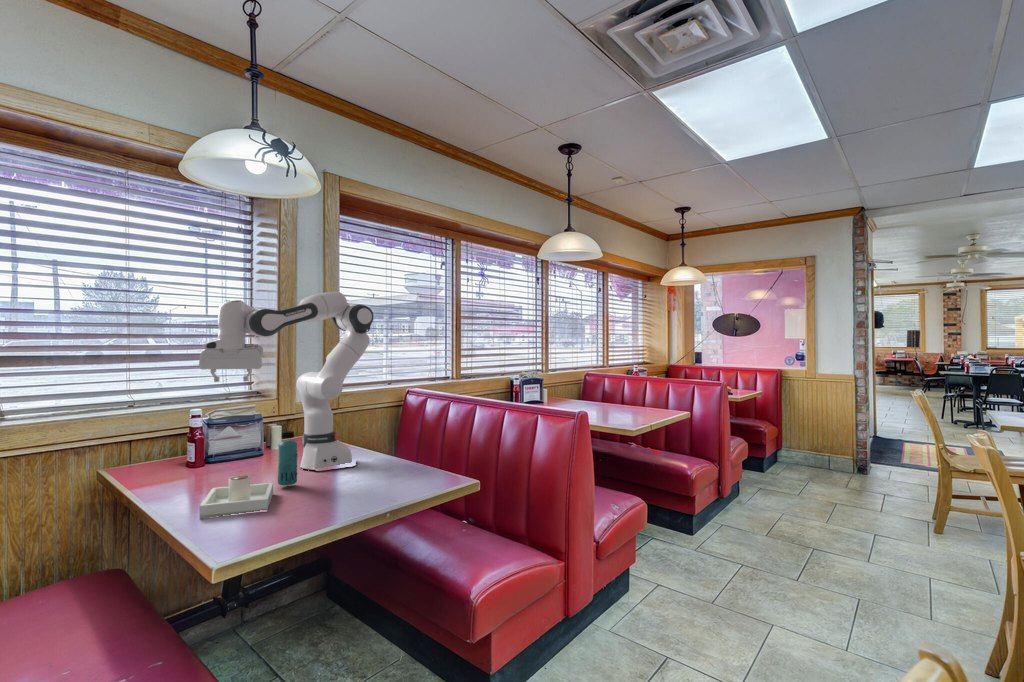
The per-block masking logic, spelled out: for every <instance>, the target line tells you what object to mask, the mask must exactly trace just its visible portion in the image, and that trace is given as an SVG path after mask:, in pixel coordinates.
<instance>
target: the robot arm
mask: <svg viewBox="0 0 1024 682" xmlns="http://www.w3.org/2000/svg"><path fill="white" fill-rule="evenodd" d="M217 313H218V315H217V327H218V334H217V339H216V340H214V339H213V340H211V341H207V342H205V343H203V344H202V348H203V349H202V351H201V352H200V354H199V361H198V367H199V369H200V370H210V374H211V376H212V377H213V382H215V383H219V382H220V378H221V377H220V376H217V374H216V372H217V370H246V372H247V374H246V375H245V376H243V378H242V379H243V380H242V381H243V382H249V377H250V375H251V374H252V372H253V371H252V370H259V369H261V368H262V367H263V357H262V356H263V354H264V348H263V347H262V345H260V344H258V343H255V344H254V343H253V344H252V343H246V334H249V335H251V336H262V337H273V336H274V335H275V334H277V333H278V332H280V331H281V330H282V329H283V328H285V327H288V326H291V325H294V324H299V323H301V322H319V321H324V320H328V319H330V318H331V319H332V321H333V324H334V326H335V327H337V329H339V330H340V331H343V332H345V334H344V336H343V337H342V339H341V340H340V341H339V342H338V343H336V345H335V346H334V348H332V350H331V351H330V352H329V353H328V354H327V356H326V357H325V360H326V361H325V363H324V365H323V367H322V368H321V369H320V371H309V372H305V373H303V374H301V375H300V376H299V377H298V378H297V380H296V385H295V387H296V390H297V391H298V394H299V396H300V401H301V404H302V410H303V417H304V418H303V420H304V422H303V425H304V426H303V429H304V431H303V434H302V447H303V450H302V458H301V461H300V466H299V468H300V467H302V468H310V469H316V470H319V468H323V467H328V466H334V465H340V464H345V463H351V462H352V458H353V454H352V450H351V448H350V447H349V446H347V445H346V444H344V442H341V441H340V440H339V438H340V434H339V433H338V432H337V431H334V426H333V425H334V413H333V410H332V408H331V406H330V404H329V401H332V400H334V399H336V398H339V396H340V395H341V394H342V392H343V388H344V386H343V385H344V382H345V379H346V377H347V376H348V374H349V372H350V371H351V369H353V367H354V366H355V365H356V364H357V362H358V361H359V360H360V358H361V357H362V356H363V355H364V353H365V351H366V350H367V349H368V347H369V345H370V341H371V339H370V337H369V335H368V334H367V333H368V332H370V331H371V325H372V324H373V322H374V312H373V310H372V309H371V308H370V307H369V306H367V305H366V304H365V305H364V304H353V305H351V304H349V303H348V299H347V298H346V296H345V295H344V294H343V293H342V292H340V291H328V292H320V293H316V294H312V295H309V296H305V297H304V298H302V299H301V300H300V302H299V304H298V305H295V306H292V307H288V308H283V309H278V310H275V309H271V308H270V309H269V308H263V309H262V308H261V309H257V308H254V307H252V306H250V305H248V304H247V303H246V302H244V301H243V300H241V299H240V300H239V299H236V300H230V301H223V302H222V303H221V304H220V305H219V307H218V312H217Z"/></svg>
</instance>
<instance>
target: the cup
mask: <svg viewBox="0 0 1024 682" xmlns="http://www.w3.org/2000/svg"><path fill="white" fill-rule="evenodd" d="M250 485H251V475H249V474H240V475H239V474H238V475H234V476H231V477H228V486H227V487H228V502H231V501H242V500H250Z"/></svg>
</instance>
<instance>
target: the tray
mask: <svg viewBox="0 0 1024 682" xmlns="http://www.w3.org/2000/svg"><path fill="white" fill-rule="evenodd" d="M272 494H273V495H274V482H265V483H254V484H250V500H242V501H231V502H228V486H219V487H218V486H217V487H212V488H211V489H210V491H209V492H208V494H207V495H206V496H205V498H204V499H203V500H202V502H201V503H200V504H199V520H203V519H202V518H208V519H211V518H210V517H216V516H223V515H231V514H239V513H246V512H254V511H260V510H268V511H269V509H268V506H269V504H270V505H271V503H270V501H271V502H272V500H271V498H272V499H273V497H272ZM269 507H270V506H269Z"/></svg>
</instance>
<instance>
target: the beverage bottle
mask: <svg viewBox="0 0 1024 682" xmlns="http://www.w3.org/2000/svg"><path fill="white" fill-rule="evenodd" d="M294 437H295V432H294V431H293V430H285V431H282V432H281V439H286V440H282V441H280V442H279V443H278V448H277V449H278V456H277V457H278V460H277V461H278V463H277V464H278V465H277V483H278V484H277V485H279V486H284V487H285V486H286V487H287V486H292V485H295V484H297V483H298V482H297V481H298V452H299V451H298V442H297V441H295V439H292V438H294Z"/></svg>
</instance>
